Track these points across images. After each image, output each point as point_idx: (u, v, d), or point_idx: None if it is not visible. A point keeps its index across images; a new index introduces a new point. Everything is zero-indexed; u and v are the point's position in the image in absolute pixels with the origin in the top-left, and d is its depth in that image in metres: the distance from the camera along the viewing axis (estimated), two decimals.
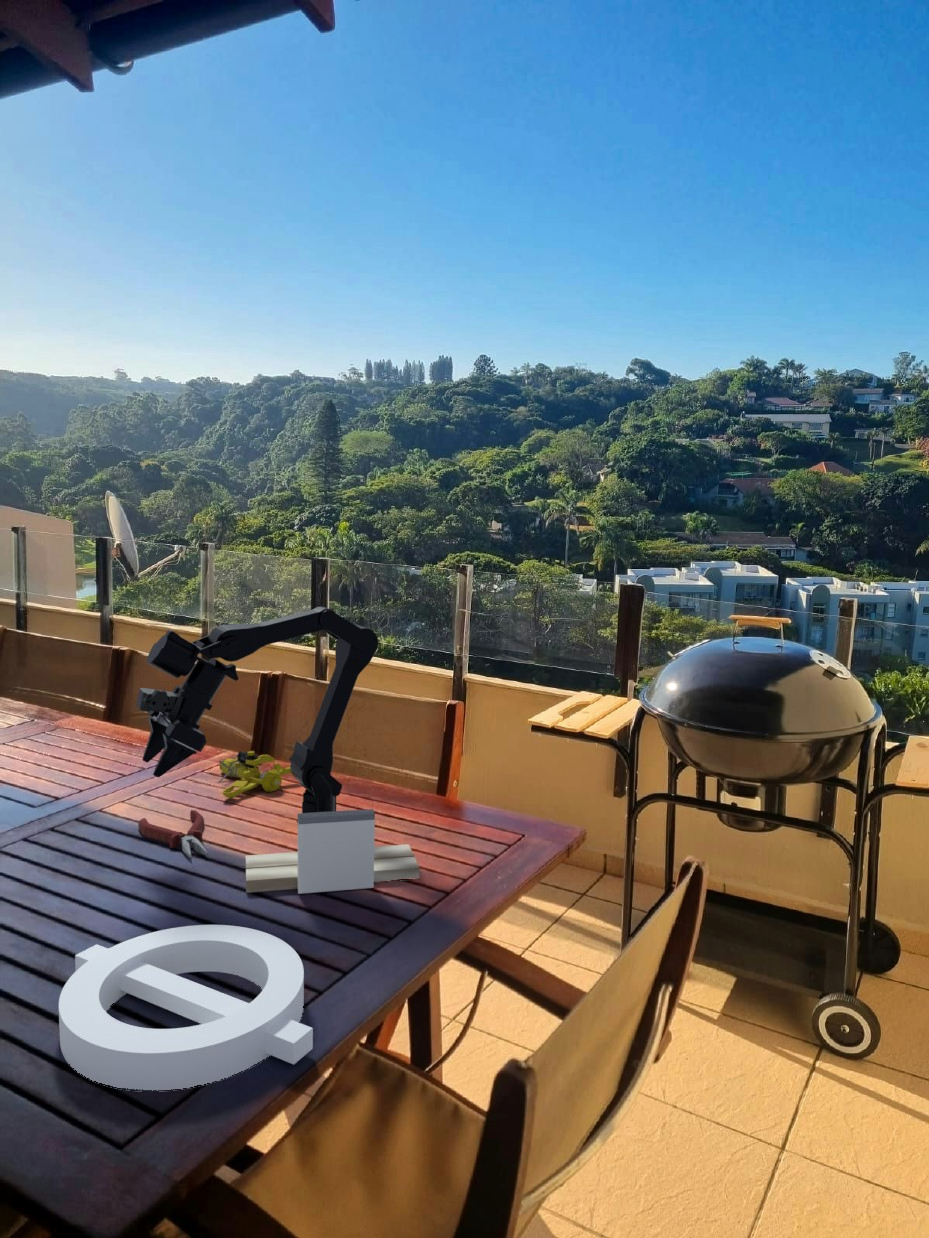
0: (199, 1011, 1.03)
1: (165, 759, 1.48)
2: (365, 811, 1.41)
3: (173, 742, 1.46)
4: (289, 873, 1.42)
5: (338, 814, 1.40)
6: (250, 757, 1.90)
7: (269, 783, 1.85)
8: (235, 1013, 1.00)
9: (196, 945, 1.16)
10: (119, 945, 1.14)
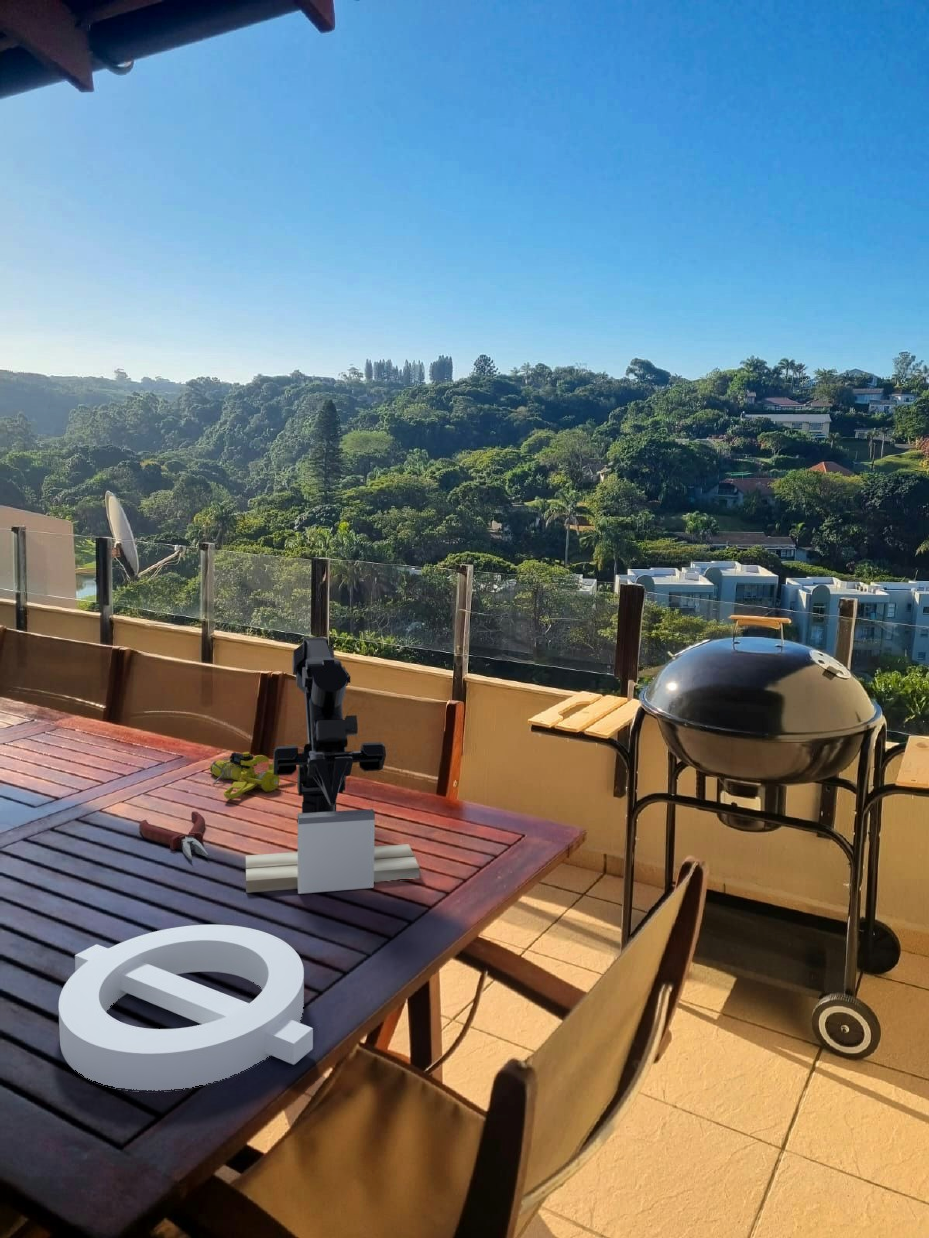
0: (199, 1011, 1.03)
1: None
2: (365, 811, 1.41)
3: None
4: (289, 873, 1.42)
5: (338, 814, 1.40)
6: (246, 758, 1.89)
7: (268, 783, 1.86)
8: (235, 1013, 1.00)
9: (195, 945, 1.16)
10: (119, 945, 1.14)
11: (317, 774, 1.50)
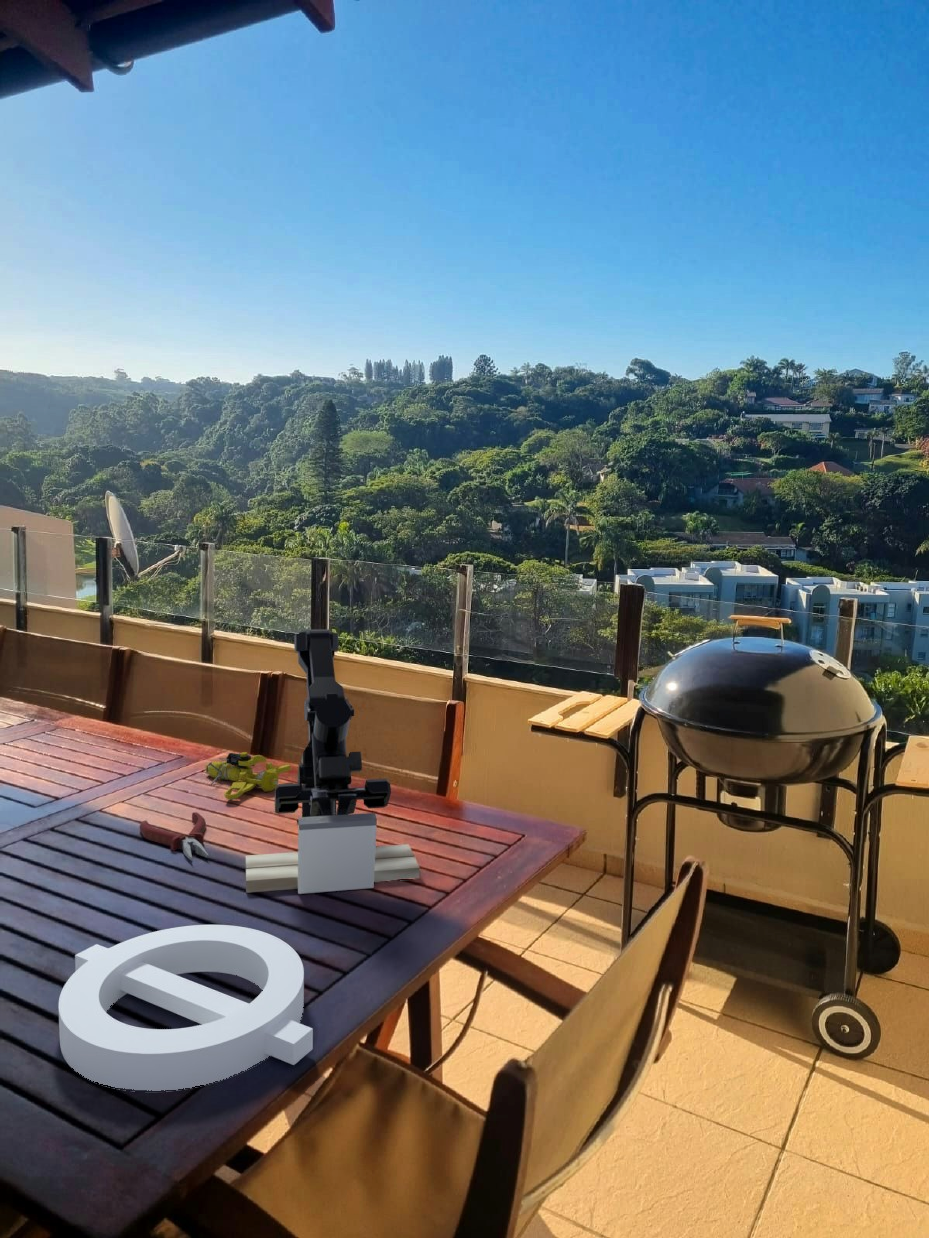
0: (199, 1011, 1.03)
1: None
2: (367, 816, 1.39)
3: None
4: (289, 873, 1.42)
5: (339, 819, 1.38)
6: (244, 758, 1.89)
7: (268, 783, 1.86)
8: (235, 1014, 1.00)
9: (195, 945, 1.16)
10: (119, 945, 1.14)
11: (320, 812, 1.45)
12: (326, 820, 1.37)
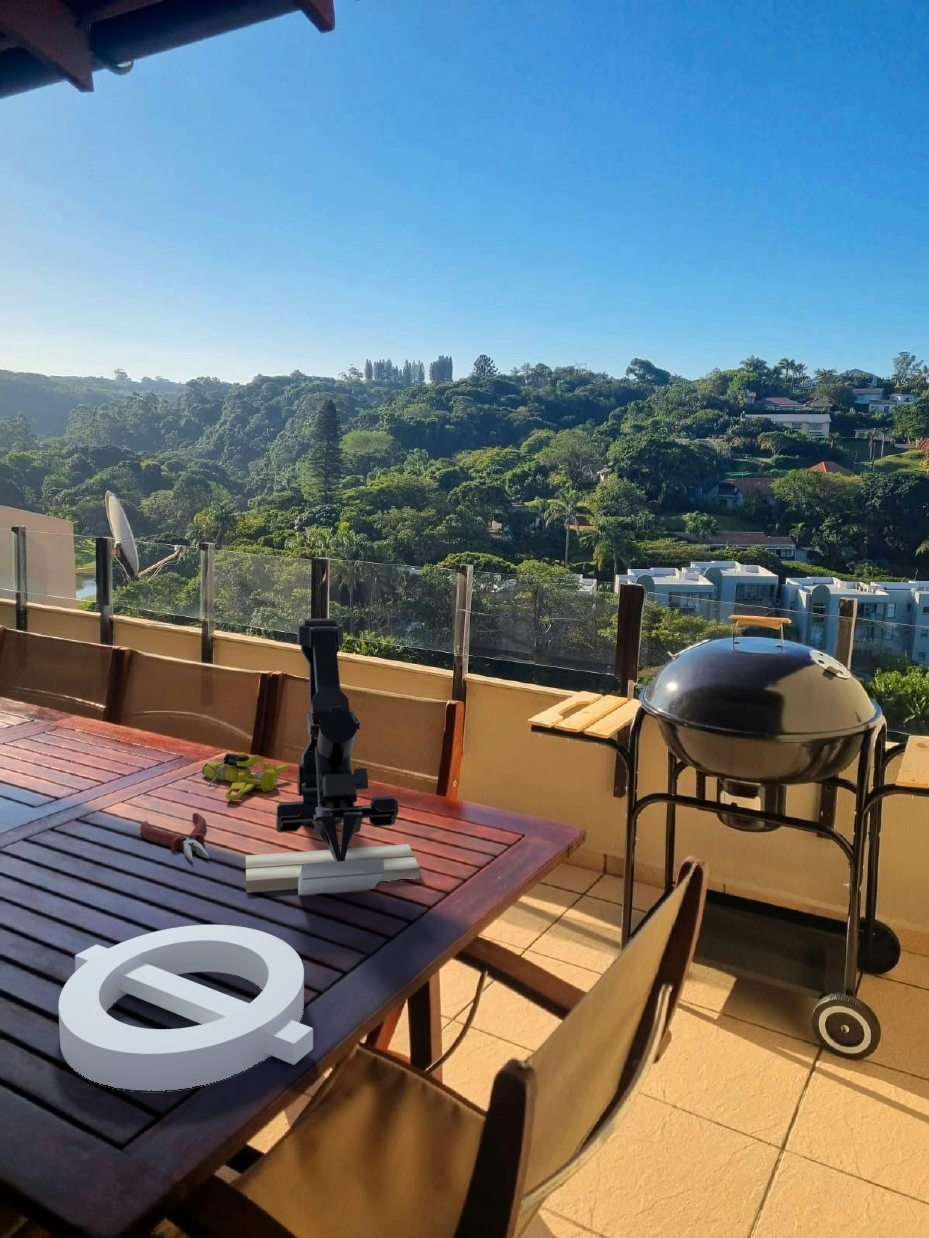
0: (199, 1011, 1.03)
1: (348, 843, 1.36)
2: (374, 864, 1.32)
3: None
4: (289, 873, 1.42)
5: (345, 871, 1.30)
6: (242, 759, 1.89)
7: (267, 783, 1.86)
8: (235, 1013, 1.00)
9: (195, 945, 1.16)
10: (119, 945, 1.14)
11: (324, 831, 1.38)
12: (331, 871, 1.30)
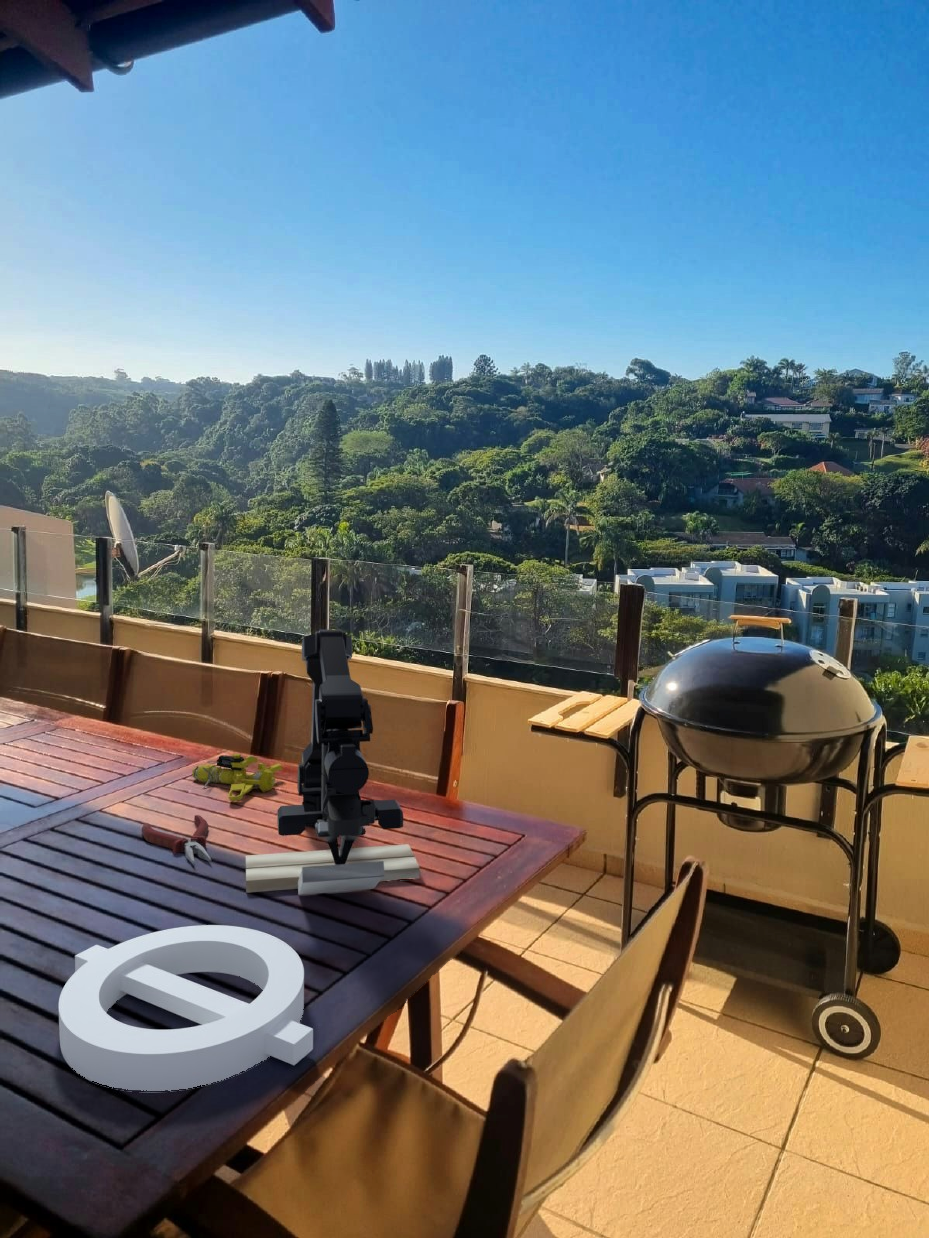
0: (199, 1011, 1.03)
1: None
2: (375, 867, 1.31)
3: None
4: (289, 873, 1.42)
5: (345, 874, 1.30)
6: (238, 760, 1.88)
7: (266, 783, 1.86)
8: (236, 1014, 1.00)
9: (195, 946, 1.16)
10: (119, 945, 1.14)
11: None
12: (331, 874, 1.30)
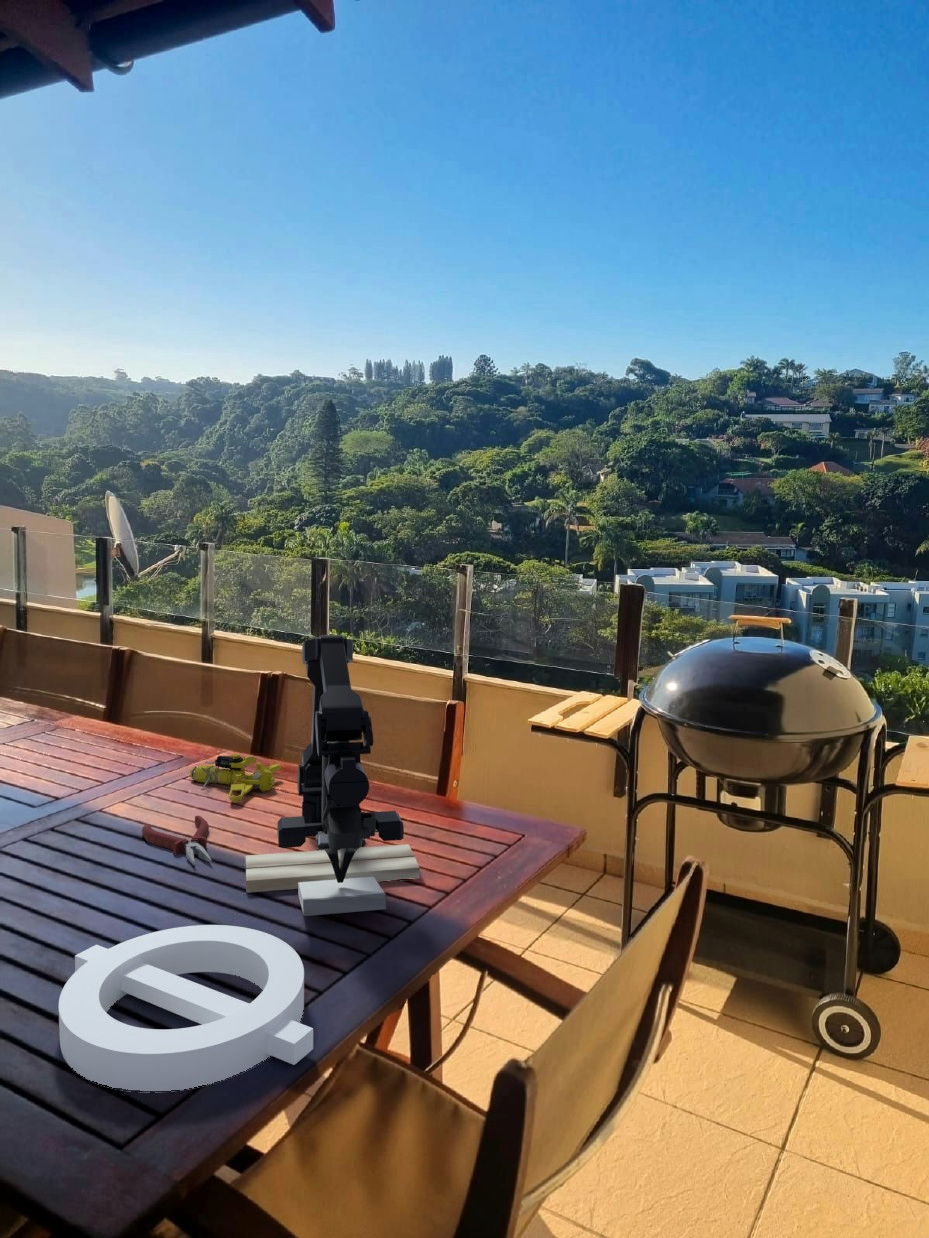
0: (199, 1011, 1.03)
1: None
2: (376, 901, 1.30)
3: None
4: (289, 873, 1.42)
5: (347, 908, 1.29)
6: (237, 760, 1.88)
7: (266, 783, 1.86)
8: (236, 1013, 1.00)
9: (196, 946, 1.16)
10: (119, 945, 1.14)
11: None
12: (332, 908, 1.28)
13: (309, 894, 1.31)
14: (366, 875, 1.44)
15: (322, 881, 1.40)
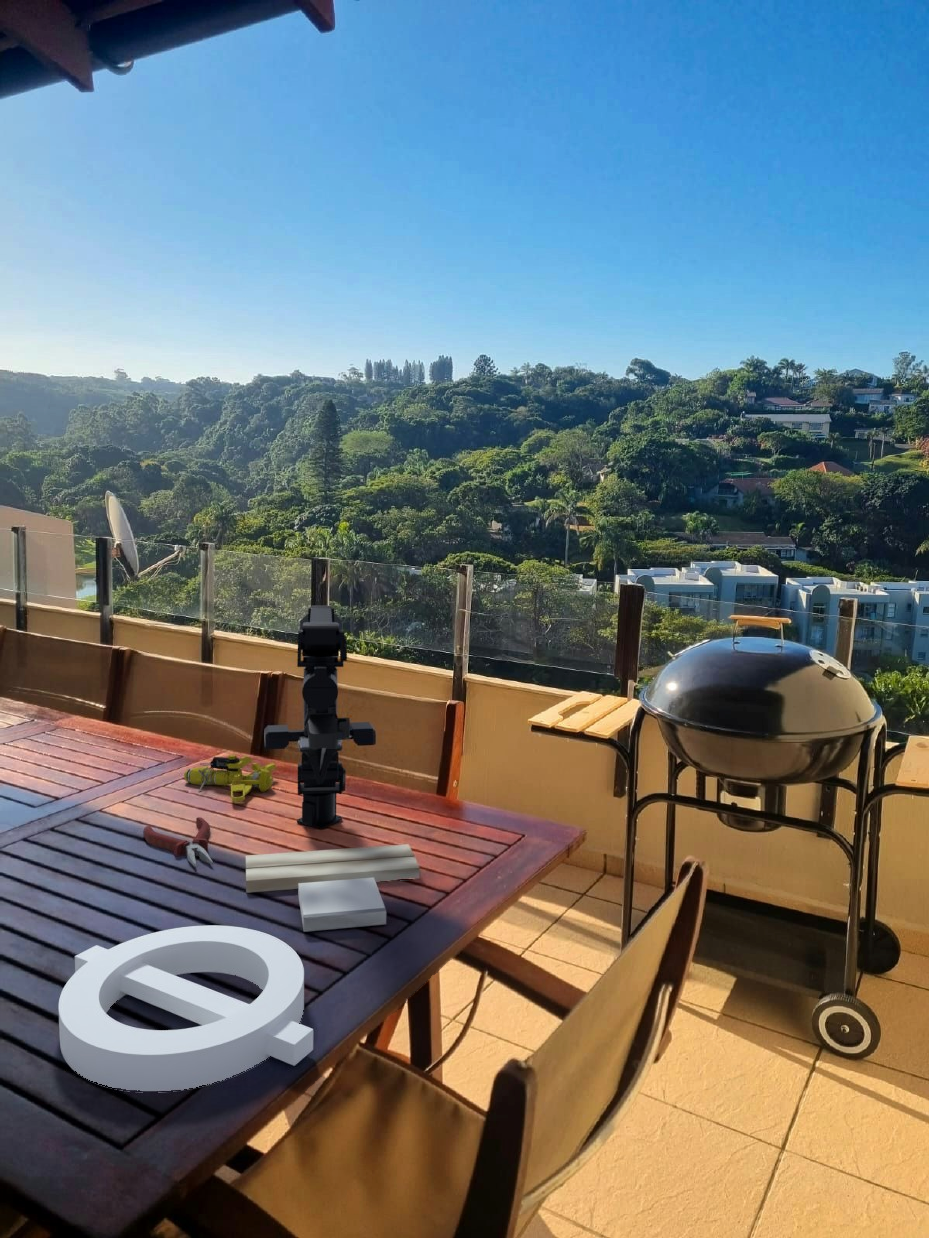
0: (199, 1012, 1.03)
1: None
2: (377, 917, 1.30)
3: (342, 747, 1.52)
4: (289, 873, 1.42)
5: (347, 923, 1.29)
6: (234, 761, 1.87)
7: (265, 782, 1.86)
8: (236, 1014, 1.00)
9: (195, 946, 1.16)
10: (119, 946, 1.14)
11: None
12: (333, 924, 1.28)
13: (309, 905, 1.31)
14: (366, 875, 1.44)
15: (322, 883, 1.39)
